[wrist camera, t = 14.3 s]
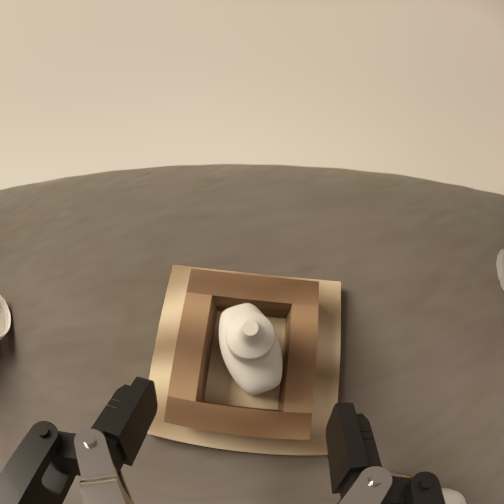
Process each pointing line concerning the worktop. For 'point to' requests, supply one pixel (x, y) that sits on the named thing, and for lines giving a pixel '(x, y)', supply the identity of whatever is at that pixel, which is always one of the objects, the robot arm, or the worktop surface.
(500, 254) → the french press
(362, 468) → the robot arm
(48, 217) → the worktop surface
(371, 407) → the worktop surface
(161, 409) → the birch holder
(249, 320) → the eye dropper bottle
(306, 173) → the worktop surface
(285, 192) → the worktop surface
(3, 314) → the spread jar
